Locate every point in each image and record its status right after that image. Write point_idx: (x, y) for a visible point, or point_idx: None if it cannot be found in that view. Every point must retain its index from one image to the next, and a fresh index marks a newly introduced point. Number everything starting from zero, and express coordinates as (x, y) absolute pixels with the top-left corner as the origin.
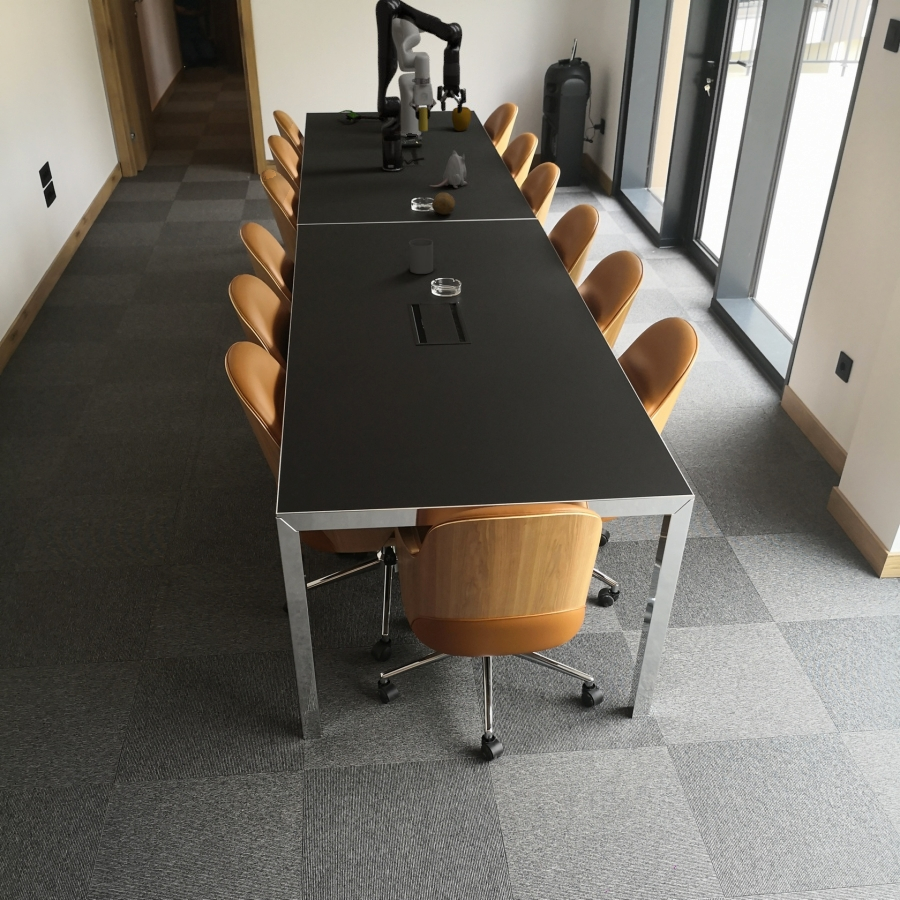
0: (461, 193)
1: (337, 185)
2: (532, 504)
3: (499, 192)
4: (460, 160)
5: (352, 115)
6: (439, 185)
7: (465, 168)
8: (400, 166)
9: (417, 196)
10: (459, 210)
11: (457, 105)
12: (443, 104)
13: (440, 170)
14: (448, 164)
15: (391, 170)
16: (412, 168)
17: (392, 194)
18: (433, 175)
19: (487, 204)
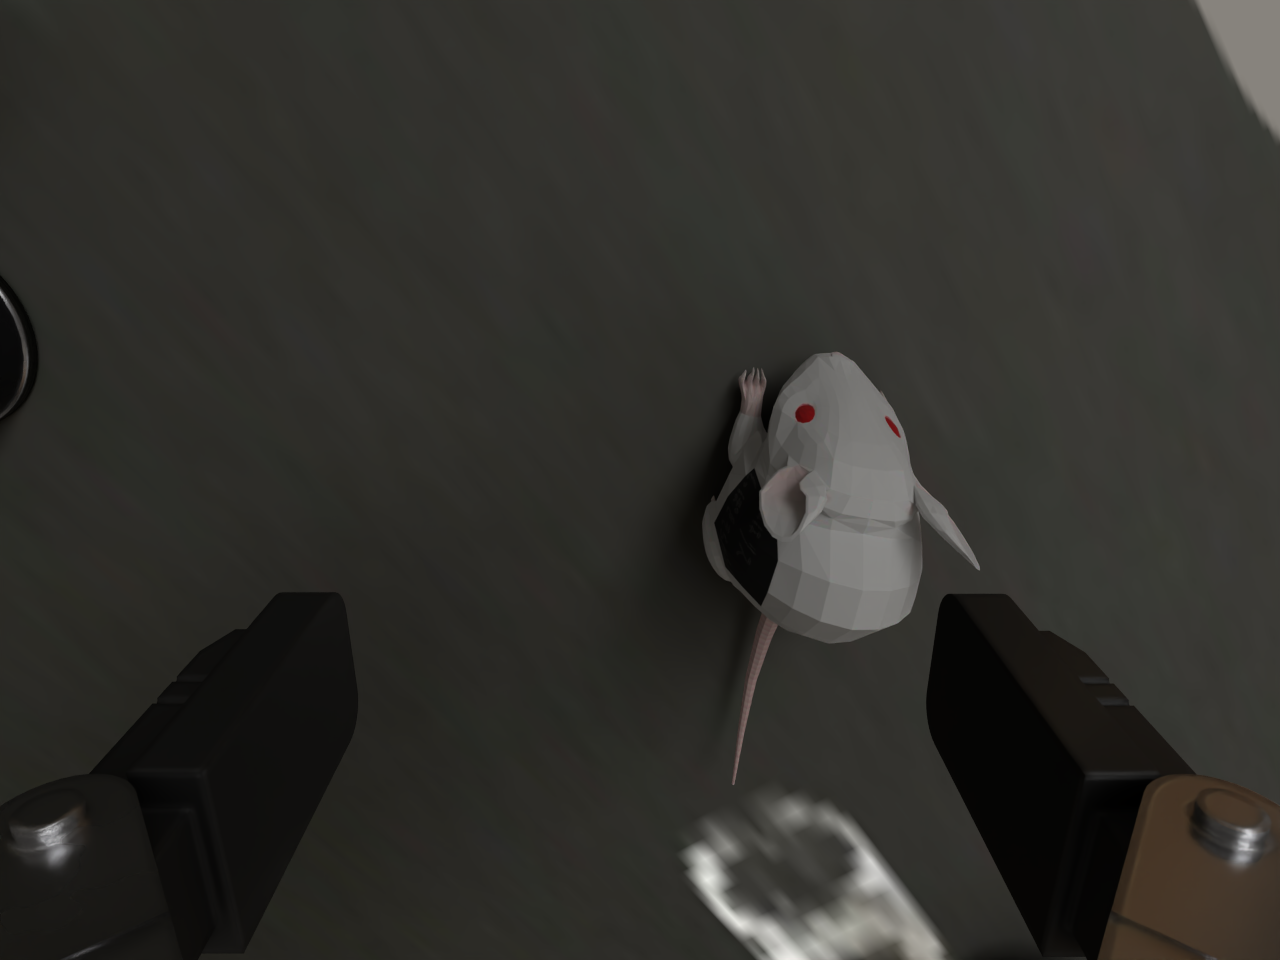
0: (940, 601)
1: None
2: None
3: (1235, 407)
4: (919, 573)
5: None
6: (758, 671)
7: (907, 447)
8: (2, 329)
9: (685, 817)
10: None
11: (1035, 933)
12: (267, 851)
13: (330, 60)
14: (794, 632)
15: (3, 417)
16: (47, 177)
17: (507, 866)
18: (405, 279)
19: (1243, 714)
